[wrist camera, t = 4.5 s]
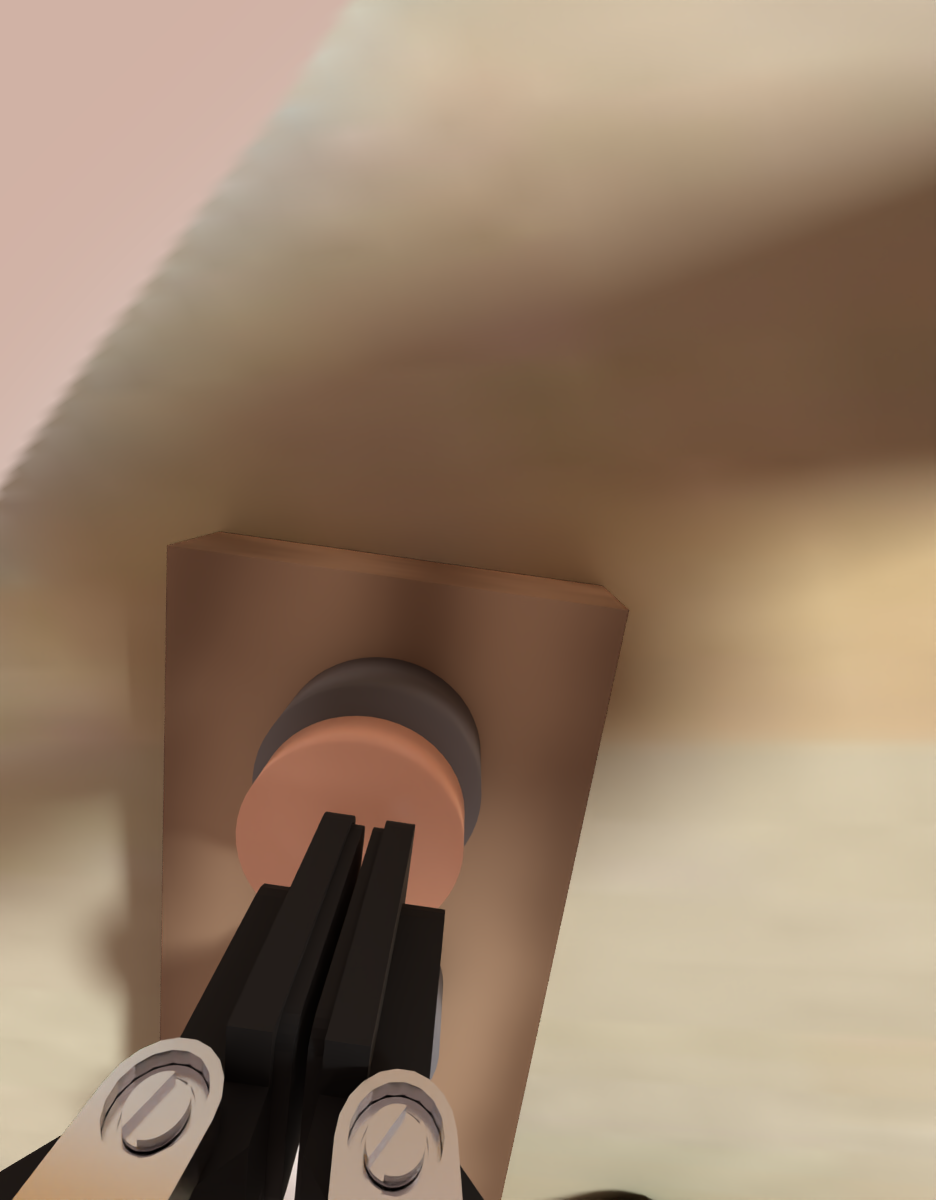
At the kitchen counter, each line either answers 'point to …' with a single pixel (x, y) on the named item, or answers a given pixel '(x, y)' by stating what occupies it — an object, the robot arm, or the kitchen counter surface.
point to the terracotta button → (354, 801)
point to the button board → (522, 790)
